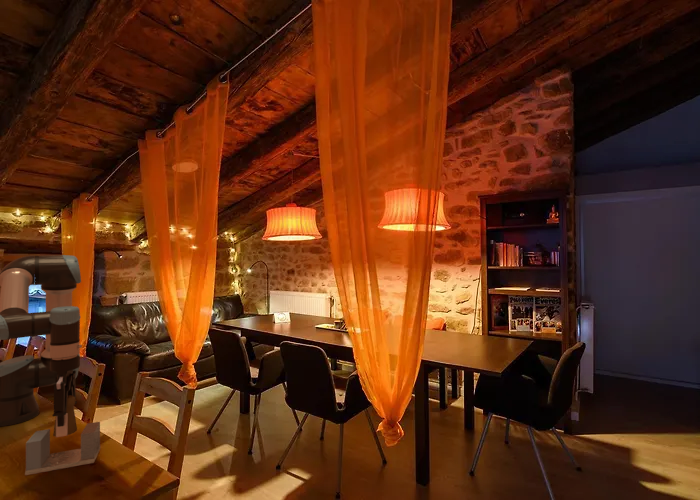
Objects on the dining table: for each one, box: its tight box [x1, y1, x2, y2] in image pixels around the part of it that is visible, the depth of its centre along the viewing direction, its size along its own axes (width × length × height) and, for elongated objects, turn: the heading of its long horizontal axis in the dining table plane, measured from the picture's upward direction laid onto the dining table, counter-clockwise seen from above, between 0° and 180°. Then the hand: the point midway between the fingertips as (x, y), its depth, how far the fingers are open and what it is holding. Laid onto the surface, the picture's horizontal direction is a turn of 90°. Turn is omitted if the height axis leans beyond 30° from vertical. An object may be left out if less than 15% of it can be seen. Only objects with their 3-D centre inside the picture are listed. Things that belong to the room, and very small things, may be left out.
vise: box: [24, 421, 101, 476], centre depth 119 cm, size 9×17×9 cm, turn 113°
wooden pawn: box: [52, 395, 78, 438], centre depth 119 cm, size 6×6×11 cm
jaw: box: [25, 428, 51, 471], centre depth 116 cm, size 8×4×8 cm, turn 23°
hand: (65, 431), depth 119 cm, fingers closed on wooden pawn, 6 cm apart
